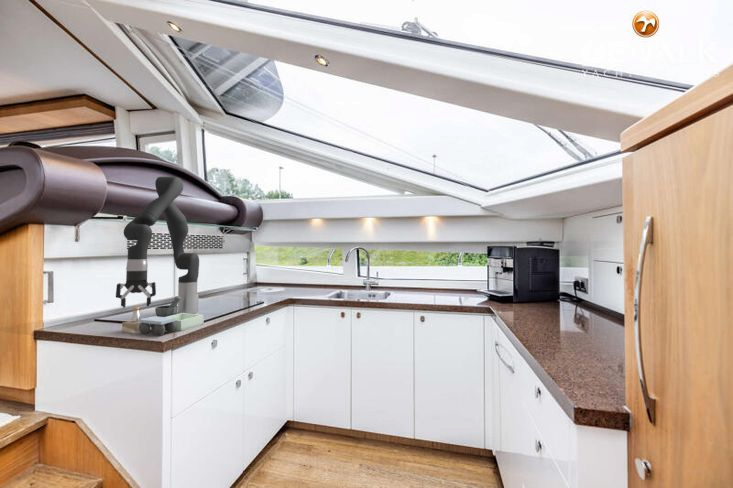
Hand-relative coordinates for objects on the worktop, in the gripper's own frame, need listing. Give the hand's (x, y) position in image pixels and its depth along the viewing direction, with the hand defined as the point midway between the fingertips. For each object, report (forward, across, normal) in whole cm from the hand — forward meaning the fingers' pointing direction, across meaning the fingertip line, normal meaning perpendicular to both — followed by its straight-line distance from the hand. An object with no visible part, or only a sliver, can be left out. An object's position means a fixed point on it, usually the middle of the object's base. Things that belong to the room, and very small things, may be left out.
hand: (136, 306), depth 142 cm
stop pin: (+10, 0, 0) cm, 11 cm away
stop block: (+10, 0, 0) cm, 11 cm away
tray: (+10, -18, 0) cm, 20 cm away
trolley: (+11, -9, +8) cm, 16 cm away
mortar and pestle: (+10, -12, -16) cm, 22 cm away
